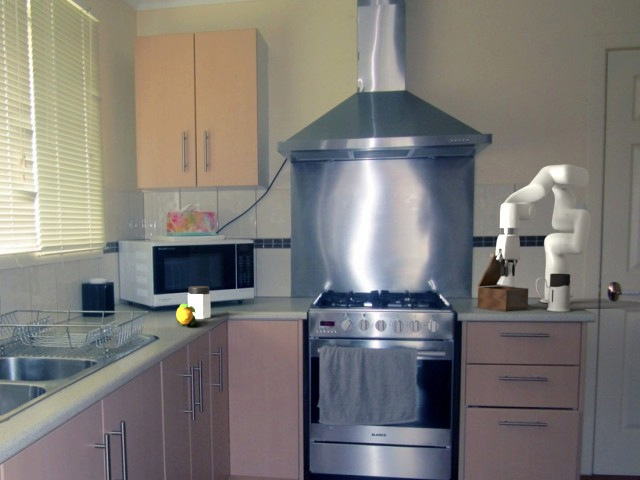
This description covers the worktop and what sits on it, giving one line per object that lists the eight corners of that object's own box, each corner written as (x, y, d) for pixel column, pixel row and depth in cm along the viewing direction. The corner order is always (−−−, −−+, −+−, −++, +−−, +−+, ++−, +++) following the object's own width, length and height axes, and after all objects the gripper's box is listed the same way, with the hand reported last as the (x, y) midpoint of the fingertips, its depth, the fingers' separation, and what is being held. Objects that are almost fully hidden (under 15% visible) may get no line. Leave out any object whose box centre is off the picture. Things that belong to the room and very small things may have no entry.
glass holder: (574, 311, 268) (576, 274, 266) (539, 311, 268) (541, 275, 266) (564, 308, 277) (565, 273, 275) (530, 309, 277) (531, 273, 275)
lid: (516, 255, 280) (508, 249, 283) (494, 256, 273) (486, 249, 277) (500, 285, 288) (492, 278, 292) (478, 286, 281) (470, 280, 285)
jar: (199, 315, 264) (199, 285, 262) (214, 317, 258) (214, 286, 257) (183, 317, 257) (183, 287, 255) (199, 319, 252) (198, 288, 250)
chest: (527, 309, 277) (528, 288, 276) (505, 311, 270) (506, 290, 269) (499, 305, 289) (499, 285, 288) (477, 307, 283) (478, 287, 282)
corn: (194, 300, 247) (196, 306, 227) (196, 320, 248) (198, 328, 228) (175, 302, 246) (174, 308, 227) (176, 322, 247) (176, 330, 227)
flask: (510, 286, 280) (514, 263, 279) (517, 287, 273) (521, 263, 272) (493, 284, 280) (497, 260, 279) (500, 285, 273) (504, 261, 272)
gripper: (514, 232, 282) (513, 274, 284) (488, 232, 274) (486, 276, 276) (530, 232, 275) (528, 276, 277) (503, 232, 267) (501, 277, 269)
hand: (507, 275), depth 276 cm, fingers closed on flask, 3 cm apart
